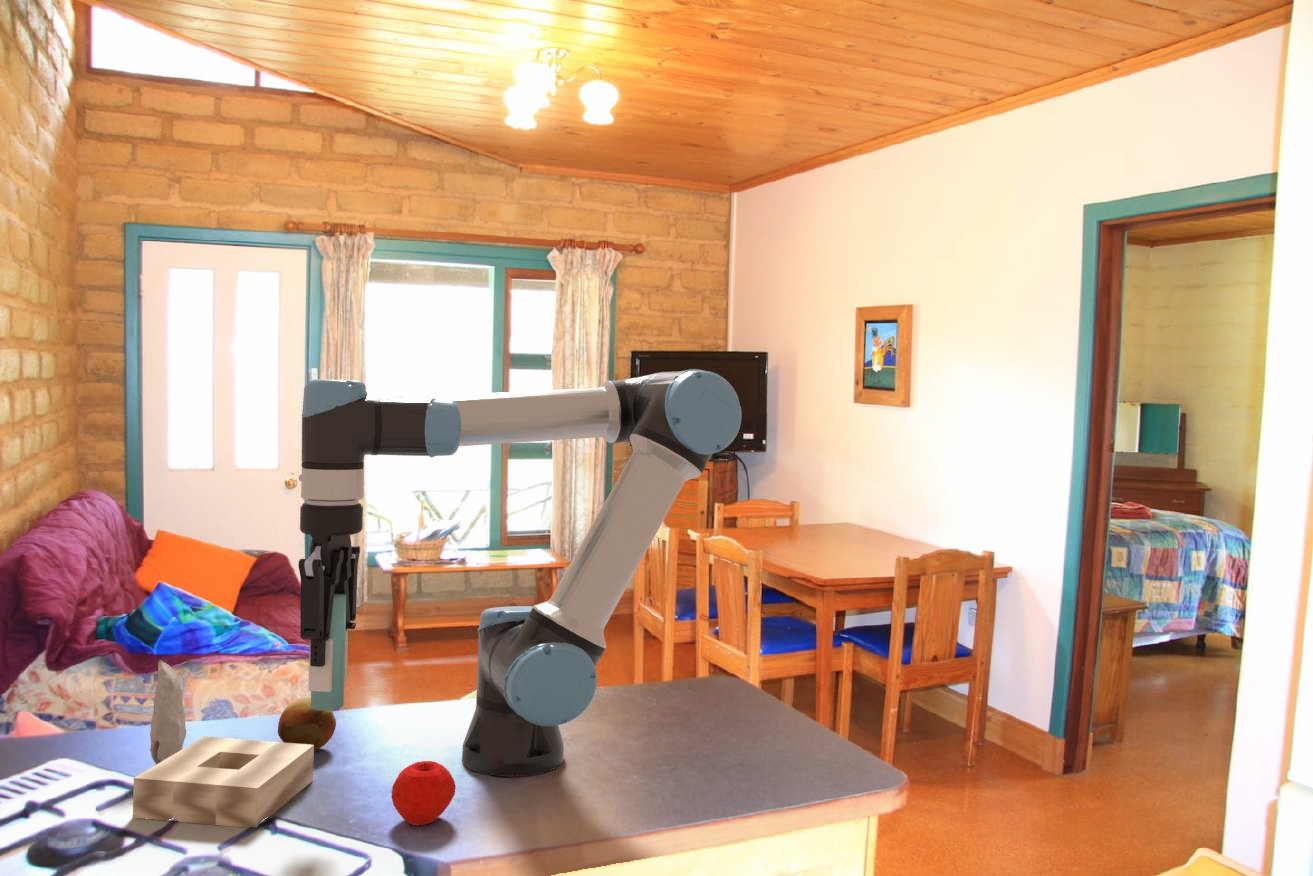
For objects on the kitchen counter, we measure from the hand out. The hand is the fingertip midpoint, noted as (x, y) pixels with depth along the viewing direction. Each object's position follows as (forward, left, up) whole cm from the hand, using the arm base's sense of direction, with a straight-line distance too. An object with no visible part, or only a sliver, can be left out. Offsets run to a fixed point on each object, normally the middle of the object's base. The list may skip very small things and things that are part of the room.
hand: (328, 685), depth 125 cm
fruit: (+12, -22, -17) cm, 30 cm away
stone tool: (+28, -12, -17) cm, 35 cm away
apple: (-13, -1, -17) cm, 21 cm away
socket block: (+14, -3, -17) cm, 22 cm away
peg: (0, 0, -3) cm, 3 cm away
